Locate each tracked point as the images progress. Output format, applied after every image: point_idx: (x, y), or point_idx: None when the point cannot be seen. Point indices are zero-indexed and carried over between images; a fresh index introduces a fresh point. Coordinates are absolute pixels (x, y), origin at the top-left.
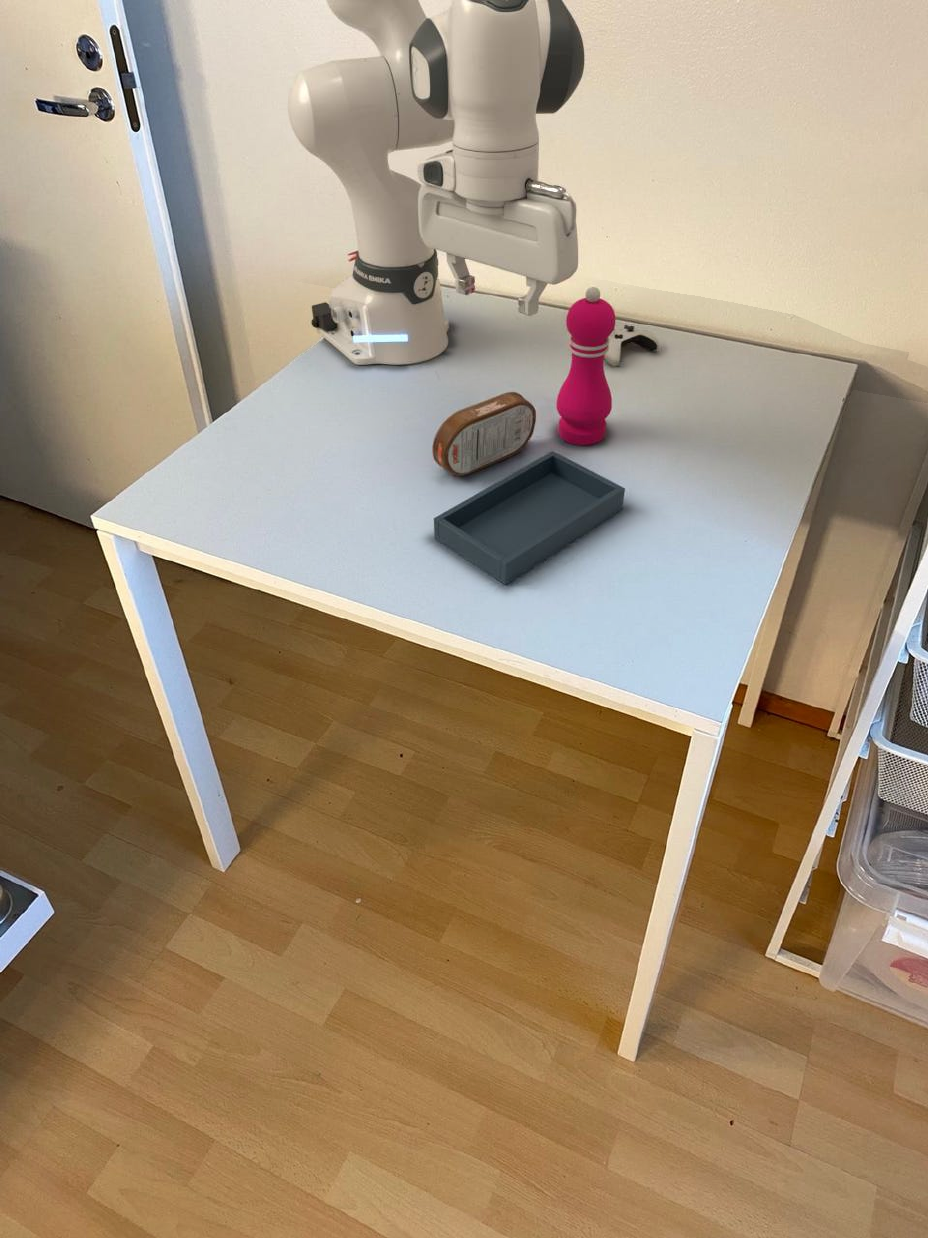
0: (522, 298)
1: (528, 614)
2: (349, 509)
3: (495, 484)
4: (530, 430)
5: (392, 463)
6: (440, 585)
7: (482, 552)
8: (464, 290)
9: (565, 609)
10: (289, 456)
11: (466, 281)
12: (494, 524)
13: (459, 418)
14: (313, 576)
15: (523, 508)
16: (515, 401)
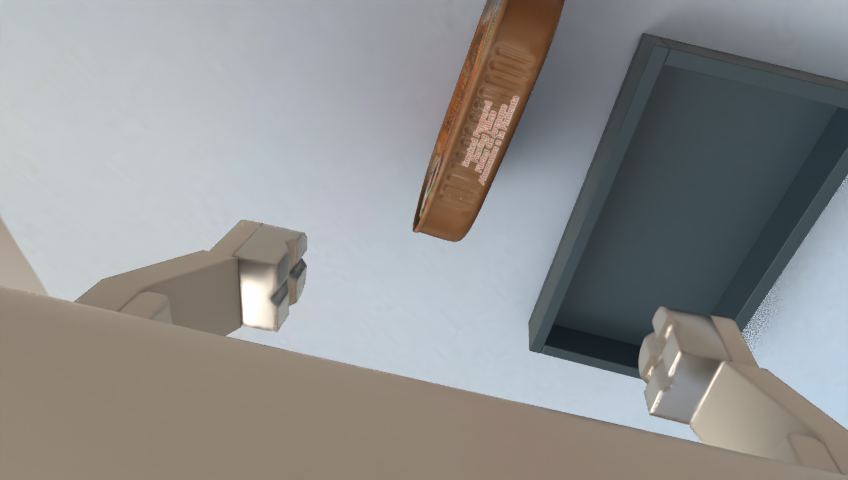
0: (672, 412)
1: None
2: (364, 317)
3: (583, 229)
4: None
5: (326, 184)
6: (593, 393)
7: None
8: (294, 303)
9: (802, 370)
10: (173, 251)
11: (280, 318)
12: (610, 264)
13: (448, 214)
14: None
15: (642, 202)
16: (534, 62)
